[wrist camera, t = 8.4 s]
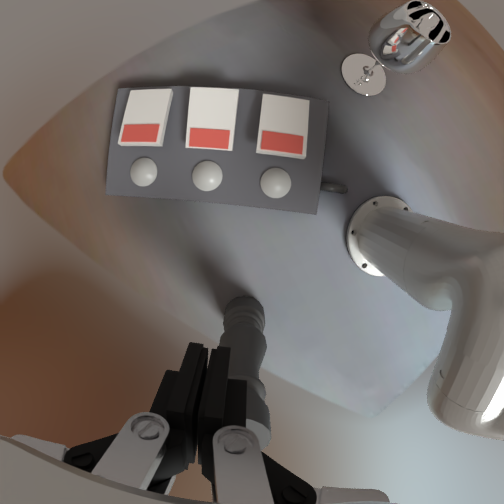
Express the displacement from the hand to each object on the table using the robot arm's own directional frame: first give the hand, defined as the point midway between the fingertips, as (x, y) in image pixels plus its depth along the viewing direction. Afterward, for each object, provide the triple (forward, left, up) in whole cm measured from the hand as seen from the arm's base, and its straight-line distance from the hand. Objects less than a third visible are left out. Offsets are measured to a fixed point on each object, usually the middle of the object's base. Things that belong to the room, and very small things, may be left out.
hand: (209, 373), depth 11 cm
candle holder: (-2, +13, -32) cm, 35 cm away
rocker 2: (+5, -15, -27) cm, 31 cm away
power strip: (+3, -12, -32) cm, 34 cm away
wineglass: (-16, -27, -32) cm, 45 cm away
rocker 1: (+14, -15, -27) cm, 34 cm away
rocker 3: (-4, -15, -27) cm, 31 cm away
